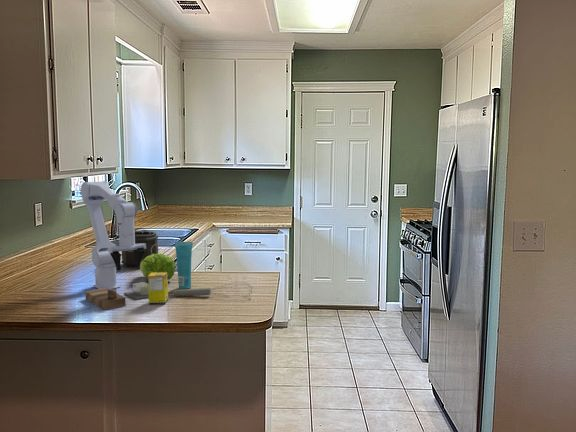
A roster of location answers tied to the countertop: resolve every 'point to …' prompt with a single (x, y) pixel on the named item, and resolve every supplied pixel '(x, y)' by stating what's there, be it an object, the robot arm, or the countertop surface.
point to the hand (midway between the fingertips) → (128, 269)
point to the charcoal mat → (135, 295)
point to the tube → (184, 263)
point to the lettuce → (158, 265)
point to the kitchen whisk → (203, 291)
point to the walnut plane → (105, 298)
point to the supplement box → (158, 288)
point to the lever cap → (140, 288)
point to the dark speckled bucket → (151, 248)
